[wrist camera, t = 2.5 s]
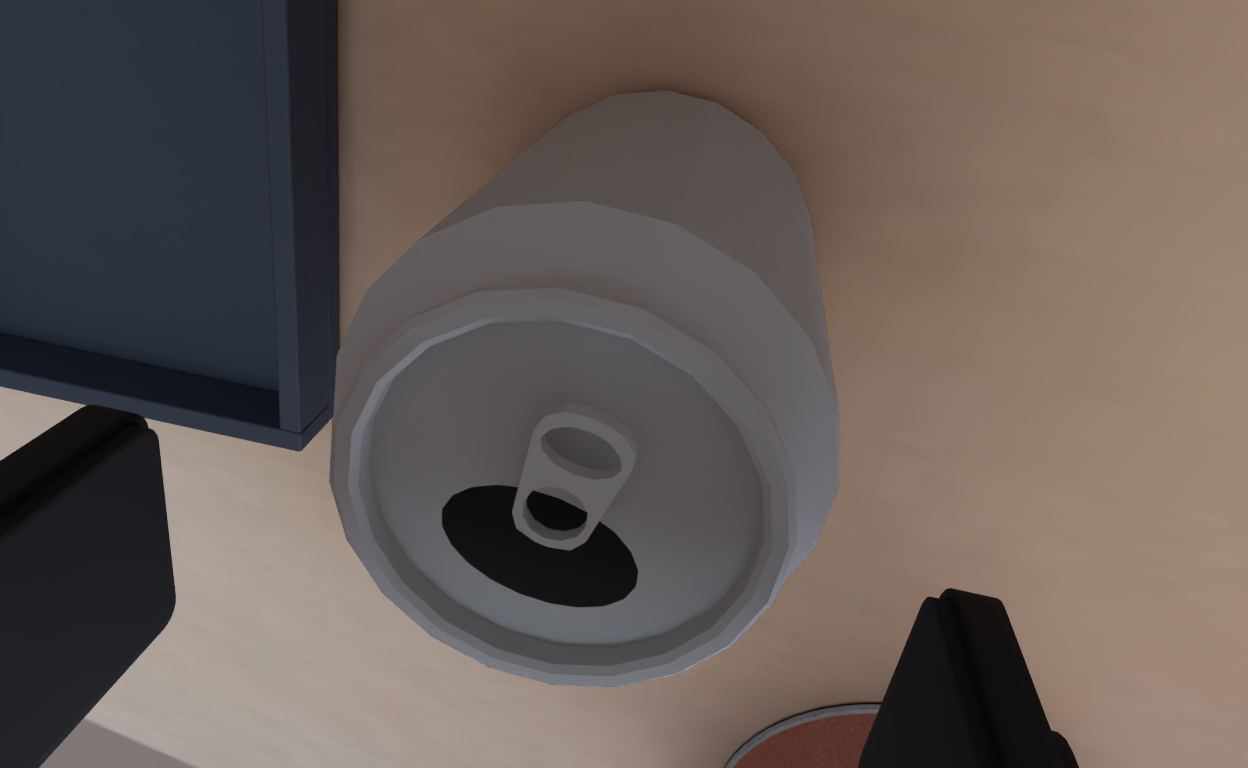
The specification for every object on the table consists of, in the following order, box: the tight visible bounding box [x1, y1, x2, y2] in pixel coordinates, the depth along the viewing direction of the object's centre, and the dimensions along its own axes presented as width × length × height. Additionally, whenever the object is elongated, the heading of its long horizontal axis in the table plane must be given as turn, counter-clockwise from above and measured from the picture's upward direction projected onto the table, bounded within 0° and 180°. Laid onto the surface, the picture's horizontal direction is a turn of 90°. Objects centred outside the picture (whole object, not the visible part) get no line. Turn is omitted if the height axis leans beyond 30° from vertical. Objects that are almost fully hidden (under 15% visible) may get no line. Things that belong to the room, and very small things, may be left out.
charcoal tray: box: [0, 0, 339, 451], centre depth 21 cm, size 14×12×2 cm
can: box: [329, 90, 840, 687], centre depth 16 cm, size 8×8×12 cm
